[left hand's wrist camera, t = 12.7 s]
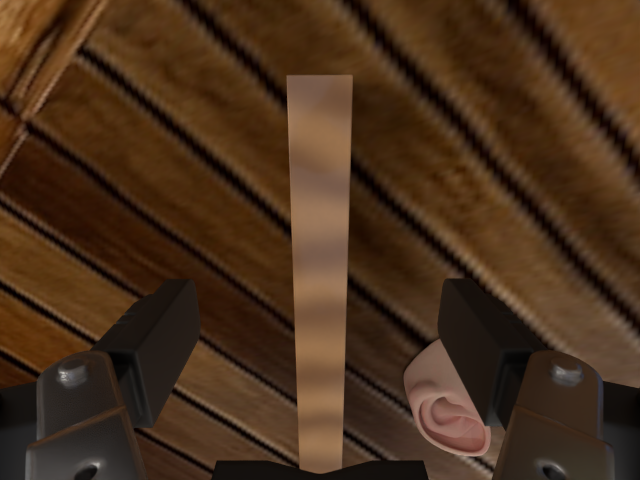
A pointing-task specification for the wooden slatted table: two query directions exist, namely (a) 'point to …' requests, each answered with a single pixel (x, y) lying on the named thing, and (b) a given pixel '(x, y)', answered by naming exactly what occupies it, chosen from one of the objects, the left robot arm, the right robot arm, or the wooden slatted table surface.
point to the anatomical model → (444, 404)
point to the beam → (320, 258)
